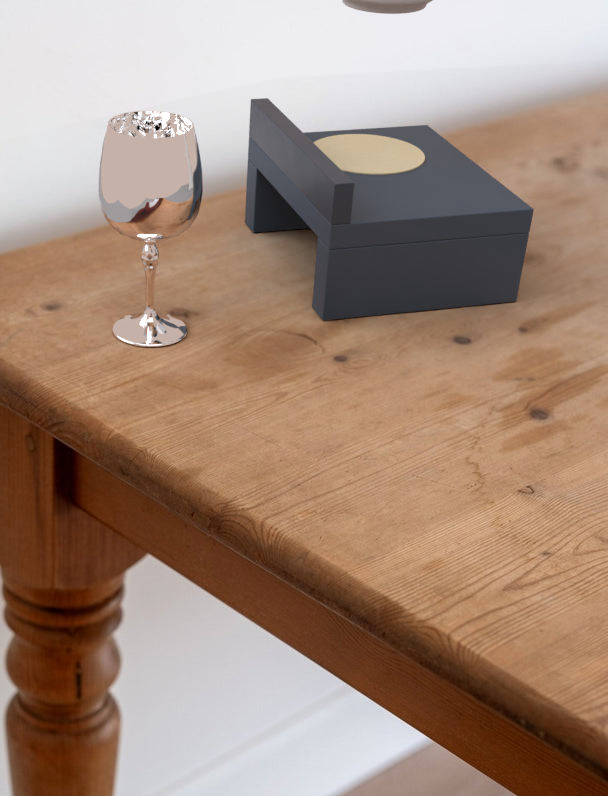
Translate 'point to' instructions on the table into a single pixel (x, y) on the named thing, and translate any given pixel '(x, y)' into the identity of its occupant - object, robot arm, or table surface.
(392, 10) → the beverage can
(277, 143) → the dark grey stand
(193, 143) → the wineglass
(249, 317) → the table surface
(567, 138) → the table surface
